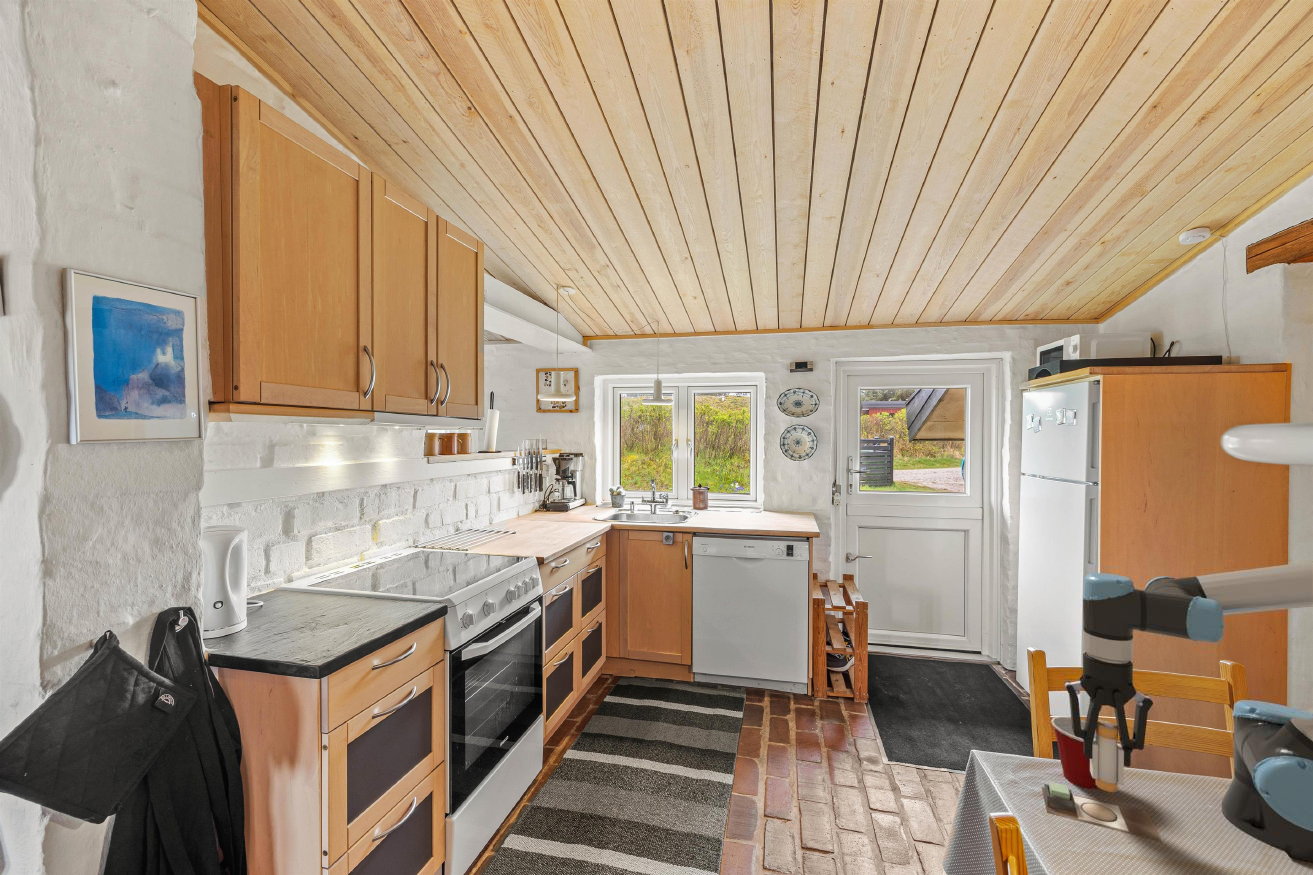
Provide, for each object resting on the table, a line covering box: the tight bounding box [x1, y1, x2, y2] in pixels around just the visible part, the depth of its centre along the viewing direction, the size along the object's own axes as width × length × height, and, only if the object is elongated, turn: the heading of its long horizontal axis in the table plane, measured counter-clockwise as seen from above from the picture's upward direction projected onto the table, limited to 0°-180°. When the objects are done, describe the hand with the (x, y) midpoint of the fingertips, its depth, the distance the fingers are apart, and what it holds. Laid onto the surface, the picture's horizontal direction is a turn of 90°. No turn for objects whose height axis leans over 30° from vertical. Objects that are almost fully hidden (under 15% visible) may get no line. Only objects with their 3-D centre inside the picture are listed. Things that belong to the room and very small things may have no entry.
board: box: [1041, 783, 1163, 843], centre depth 109 cm, size 17×9×3 cm, turn 62°
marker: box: [1096, 719, 1119, 793], centre depth 109 cm, size 3×3×12 cm
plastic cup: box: [1050, 716, 1100, 790], centre depth 119 cm, size 11×11×12 cm
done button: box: [1048, 781, 1070, 800], centre depth 112 cm, size 3×3×2 cm
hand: (1106, 777), depth 109 cm, fingers closed on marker, 3 cm apart
